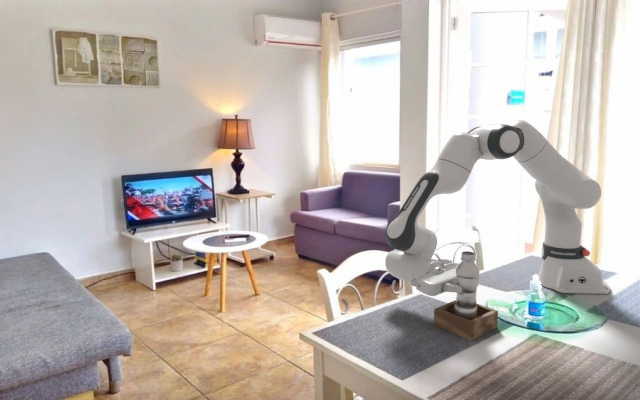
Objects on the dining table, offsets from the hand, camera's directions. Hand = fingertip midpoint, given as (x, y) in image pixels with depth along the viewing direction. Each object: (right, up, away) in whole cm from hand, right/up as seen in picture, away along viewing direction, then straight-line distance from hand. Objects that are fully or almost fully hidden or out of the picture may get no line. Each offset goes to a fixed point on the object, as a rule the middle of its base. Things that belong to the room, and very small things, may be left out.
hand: (469, 287), depth 139 cm
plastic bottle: (0, -10, +3) cm, 11 cm away
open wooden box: (0, -12, +3) cm, 12 cm away
